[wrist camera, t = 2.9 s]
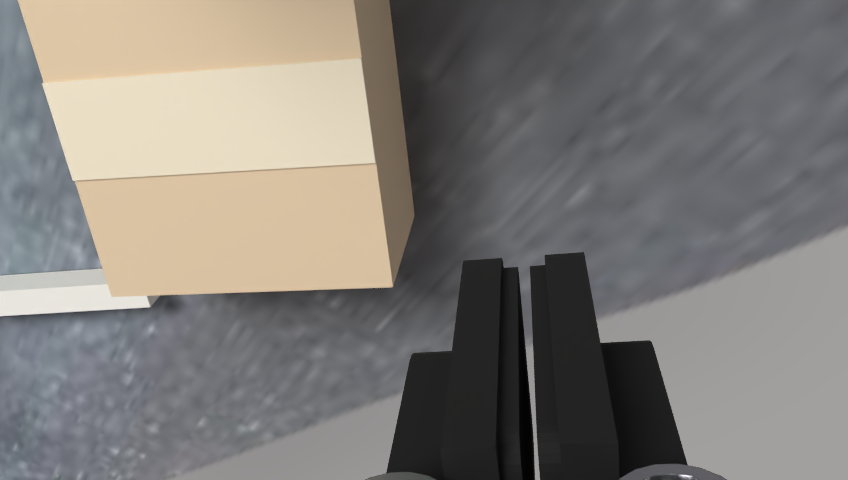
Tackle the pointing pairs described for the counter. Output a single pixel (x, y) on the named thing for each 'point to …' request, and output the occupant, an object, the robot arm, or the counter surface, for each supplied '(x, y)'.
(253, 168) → the kraft carton
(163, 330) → the counter surface
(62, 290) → the display stand
